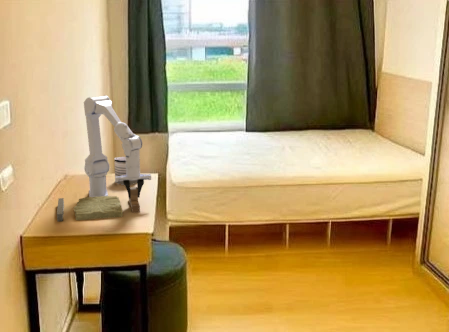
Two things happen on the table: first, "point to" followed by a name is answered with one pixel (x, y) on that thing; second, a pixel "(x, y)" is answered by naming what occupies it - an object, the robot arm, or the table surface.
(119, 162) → the can
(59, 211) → the stop rail
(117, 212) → the decorative tile
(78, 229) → the table surface
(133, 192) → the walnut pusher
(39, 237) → the table surface
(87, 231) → the table surface
